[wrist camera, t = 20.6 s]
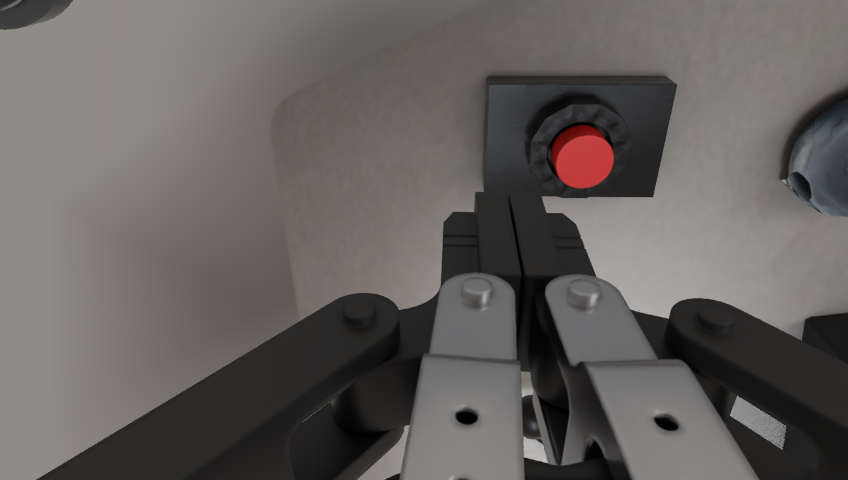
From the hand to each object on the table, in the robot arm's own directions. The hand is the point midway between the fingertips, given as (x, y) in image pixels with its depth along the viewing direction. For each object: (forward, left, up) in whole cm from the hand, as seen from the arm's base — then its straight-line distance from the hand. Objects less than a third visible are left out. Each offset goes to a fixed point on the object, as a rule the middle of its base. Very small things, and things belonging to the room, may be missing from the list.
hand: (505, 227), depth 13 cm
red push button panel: (+7, -7, -27) cm, 29 cm away
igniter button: (+7, -7, -23) cm, 25 cm away
